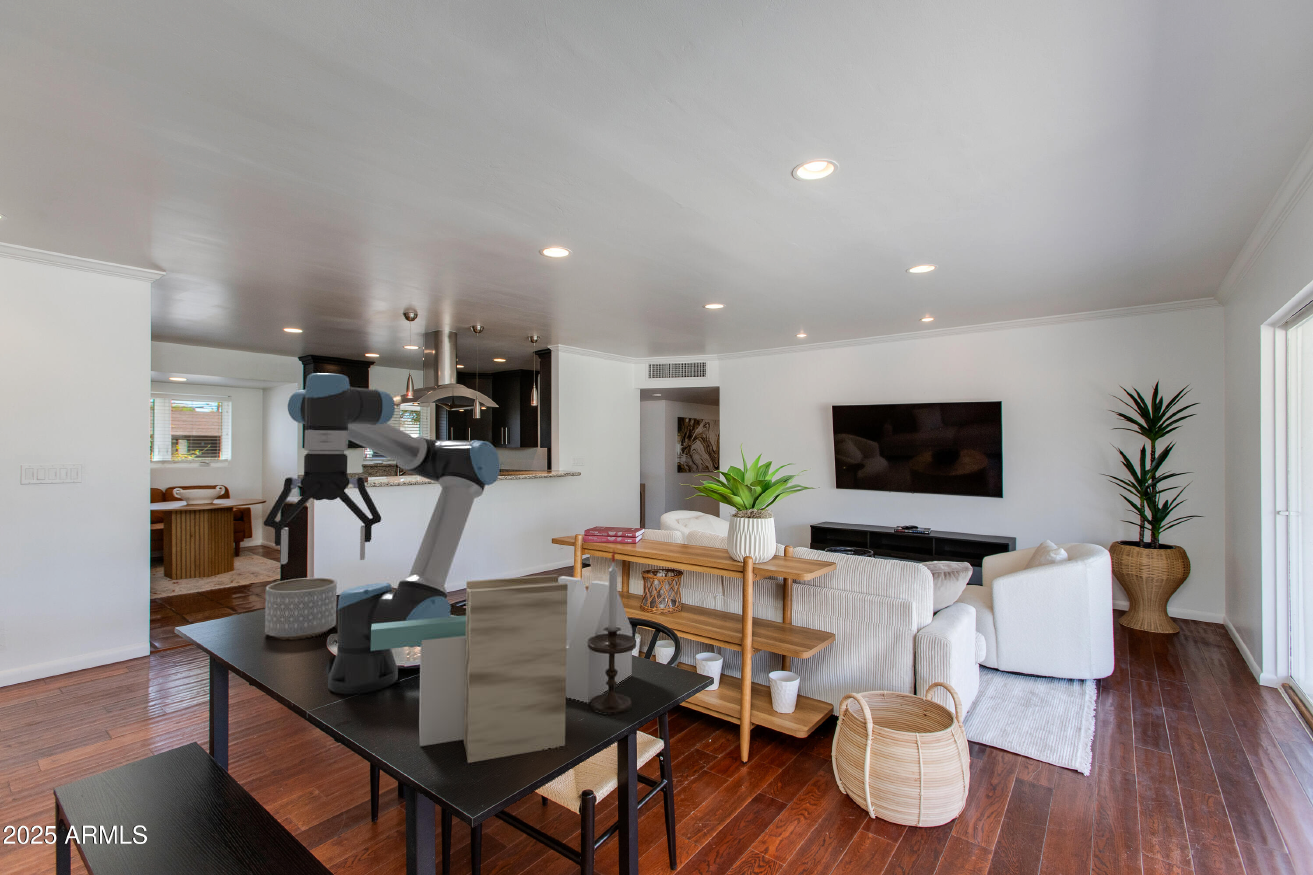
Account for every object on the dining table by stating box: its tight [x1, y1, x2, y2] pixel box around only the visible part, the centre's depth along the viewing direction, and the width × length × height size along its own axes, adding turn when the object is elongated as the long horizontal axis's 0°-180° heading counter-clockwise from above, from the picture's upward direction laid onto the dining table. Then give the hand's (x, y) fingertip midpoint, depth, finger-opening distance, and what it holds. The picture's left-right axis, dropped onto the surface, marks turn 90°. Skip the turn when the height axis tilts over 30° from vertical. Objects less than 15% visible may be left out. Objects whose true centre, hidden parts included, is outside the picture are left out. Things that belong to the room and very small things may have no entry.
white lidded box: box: [418, 636, 466, 747], centre depth 126 cm, size 9×18×20 cm, turn 112°
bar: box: [371, 614, 466, 651], centre depth 125 cm, size 4×30×4 cm, turn 113°
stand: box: [463, 574, 568, 764], centre depth 120 cm, size 9×18×31 cm, turn 112°
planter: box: [264, 577, 338, 640], centre depth 187 cm, size 19×19×14 cm
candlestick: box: [588, 549, 637, 715], centre depth 138 cm, size 11×11×35 cm
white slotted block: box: [558, 575, 633, 704], centre depth 151 cm, size 19×15×25 cm
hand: (324, 560), depth 121 cm, fingers open, 13 cm apart
